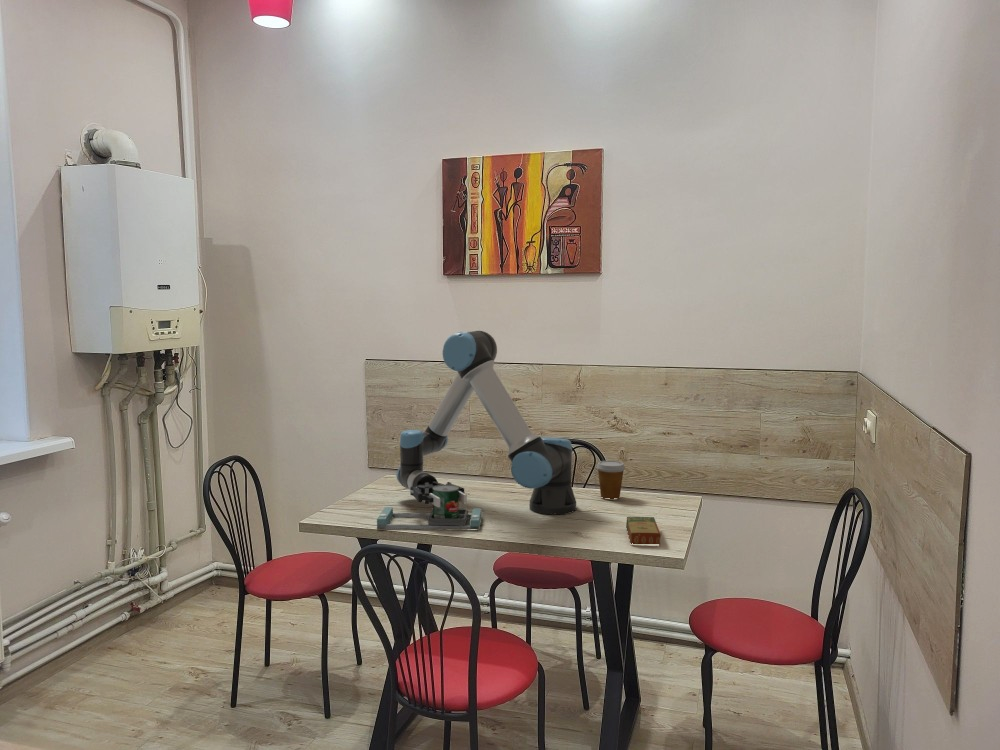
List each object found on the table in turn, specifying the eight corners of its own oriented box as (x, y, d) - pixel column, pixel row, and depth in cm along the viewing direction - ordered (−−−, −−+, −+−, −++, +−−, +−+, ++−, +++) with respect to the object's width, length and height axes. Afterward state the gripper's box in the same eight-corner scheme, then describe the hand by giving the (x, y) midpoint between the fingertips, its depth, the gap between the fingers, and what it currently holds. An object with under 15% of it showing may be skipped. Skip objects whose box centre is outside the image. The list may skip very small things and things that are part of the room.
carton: (630, 547, 211) (630, 531, 211) (625, 529, 227) (625, 515, 227) (660, 547, 211) (660, 532, 210) (654, 530, 226) (654, 516, 226)
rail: (481, 517, 237) (481, 514, 237) (478, 530, 224) (478, 526, 224) (384, 516, 238) (384, 512, 238) (377, 528, 225) (377, 524, 225)
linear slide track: (481, 517, 237) (481, 507, 237) (478, 530, 224) (478, 519, 224) (384, 516, 238) (384, 506, 238) (377, 528, 225) (376, 517, 225)
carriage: (468, 512, 237) (468, 508, 237) (464, 525, 224) (464, 520, 224) (433, 512, 237) (433, 507, 237) (428, 524, 225) (428, 519, 224)
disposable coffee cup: (626, 501, 256) (626, 466, 255) (597, 501, 256) (598, 466, 255) (622, 494, 266) (623, 460, 264) (594, 494, 266) (595, 460, 265)
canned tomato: (434, 519, 235) (434, 484, 234) (460, 519, 235) (460, 484, 234) (430, 526, 228) (430, 490, 226) (457, 527, 227) (457, 491, 226)
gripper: (452, 491, 251) (483, 509, 231) (392, 499, 242) (419, 518, 222) (452, 469, 251) (483, 484, 231) (392, 476, 241) (419, 492, 221)
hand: (452, 501), depth 226 cm, fingers closed on canned tomato, 8 cm apart
